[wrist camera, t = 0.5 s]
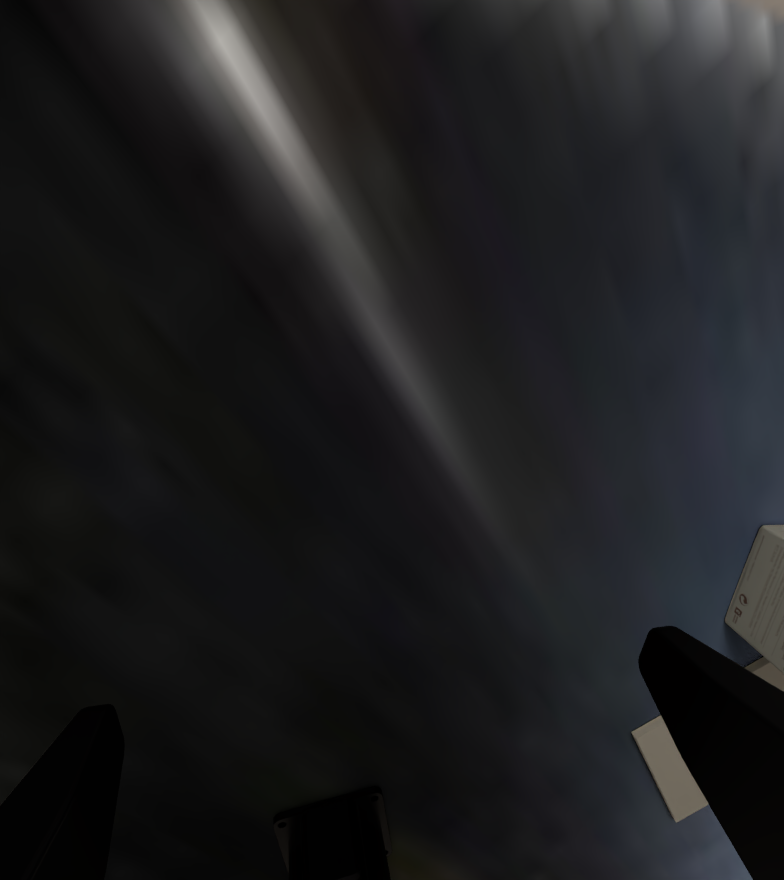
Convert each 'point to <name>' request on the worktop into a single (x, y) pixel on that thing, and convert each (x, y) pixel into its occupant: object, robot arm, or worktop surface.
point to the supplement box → (762, 597)
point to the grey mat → (669, 763)
